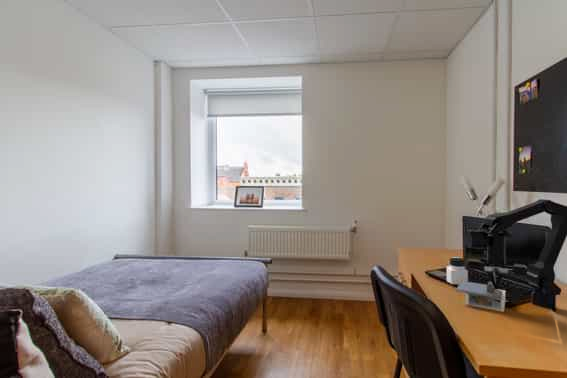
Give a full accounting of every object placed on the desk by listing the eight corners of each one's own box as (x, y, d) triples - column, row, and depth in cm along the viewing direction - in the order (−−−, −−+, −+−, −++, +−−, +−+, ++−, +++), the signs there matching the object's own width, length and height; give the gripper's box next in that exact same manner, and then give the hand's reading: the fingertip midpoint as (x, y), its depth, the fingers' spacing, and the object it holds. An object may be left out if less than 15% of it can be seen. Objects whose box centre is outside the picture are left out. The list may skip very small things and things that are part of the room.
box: (505, 303, 125) (505, 290, 125) (503, 314, 115) (503, 300, 115) (469, 296, 132) (470, 284, 132) (465, 306, 122) (465, 293, 122)
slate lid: (495, 288, 127) (495, 280, 127) (493, 297, 117) (493, 289, 117) (461, 282, 134) (461, 275, 134) (456, 291, 124) (456, 283, 124)
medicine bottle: (468, 286, 144) (468, 260, 144) (451, 285, 146) (451, 259, 146) (462, 281, 151) (462, 256, 151) (446, 280, 153) (446, 256, 153)
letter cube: (492, 303, 123) (492, 292, 123) (491, 306, 120) (491, 295, 120) (480, 300, 126) (480, 290, 126) (478, 304, 122) (478, 293, 122)
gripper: (526, 247, 122) (526, 287, 122) (470, 242, 133) (470, 279, 133) (527, 252, 113) (526, 296, 113) (466, 246, 124) (466, 286, 125)
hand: (495, 289), depth 121 cm, fingers closed
